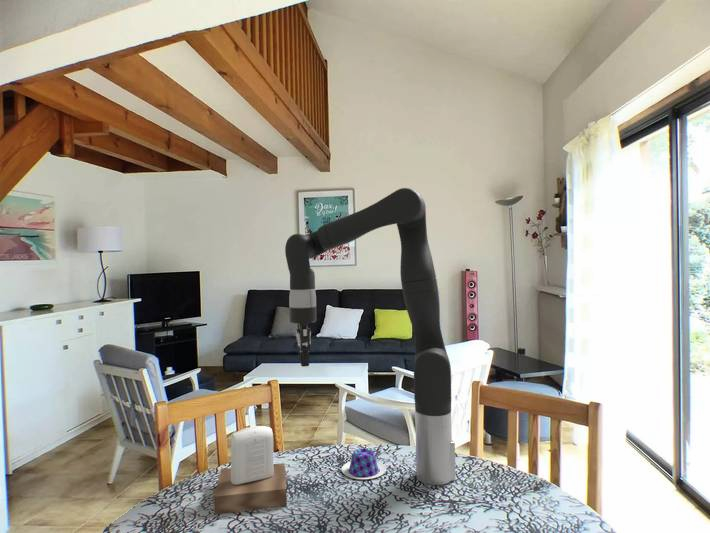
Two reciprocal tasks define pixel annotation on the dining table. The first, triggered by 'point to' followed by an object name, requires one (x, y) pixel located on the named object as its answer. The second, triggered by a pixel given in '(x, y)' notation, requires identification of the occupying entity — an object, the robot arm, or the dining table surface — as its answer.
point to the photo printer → (251, 454)
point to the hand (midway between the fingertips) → (303, 363)
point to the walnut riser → (250, 492)
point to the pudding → (363, 465)
